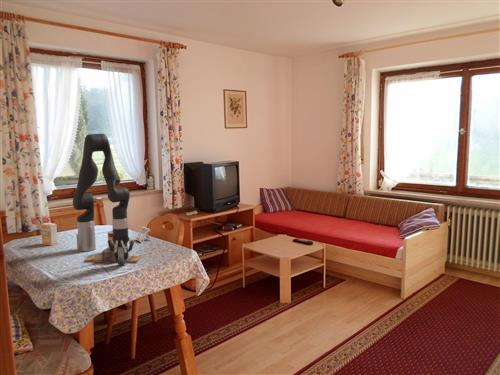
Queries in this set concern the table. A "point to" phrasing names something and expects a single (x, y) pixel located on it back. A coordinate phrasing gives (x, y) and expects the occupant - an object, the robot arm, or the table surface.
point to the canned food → (110, 236)
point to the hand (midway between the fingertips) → (121, 259)
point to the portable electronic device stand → (144, 234)
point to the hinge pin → (121, 255)
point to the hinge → (110, 257)
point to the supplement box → (49, 234)
